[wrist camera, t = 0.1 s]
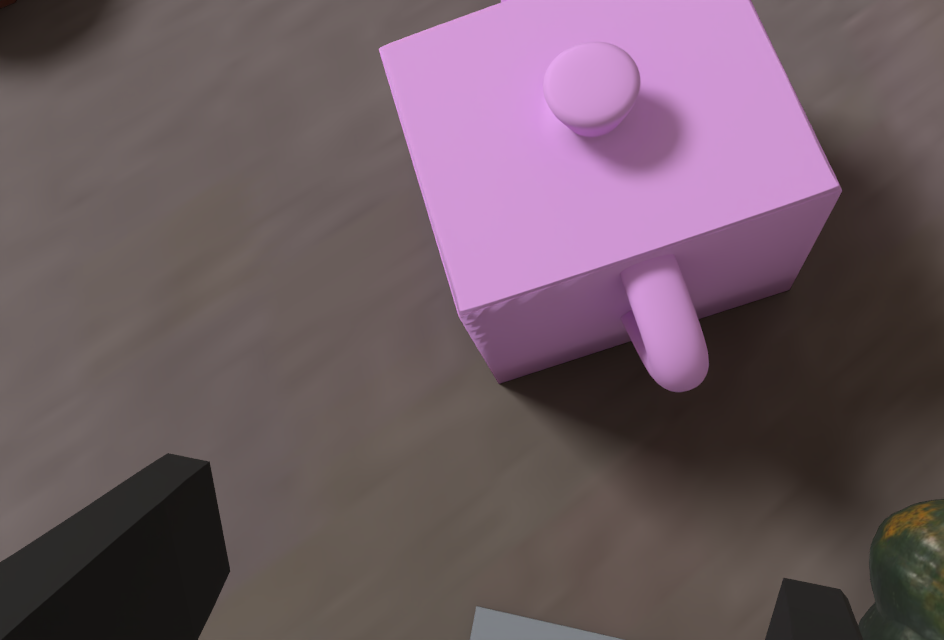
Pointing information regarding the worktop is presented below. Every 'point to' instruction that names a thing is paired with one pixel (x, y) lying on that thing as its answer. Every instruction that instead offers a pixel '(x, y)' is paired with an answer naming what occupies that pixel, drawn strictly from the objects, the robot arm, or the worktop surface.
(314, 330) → the worktop surface
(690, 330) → the teapot
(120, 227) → the worktop surface
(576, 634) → the mat
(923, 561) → the squash
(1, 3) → the muffin
